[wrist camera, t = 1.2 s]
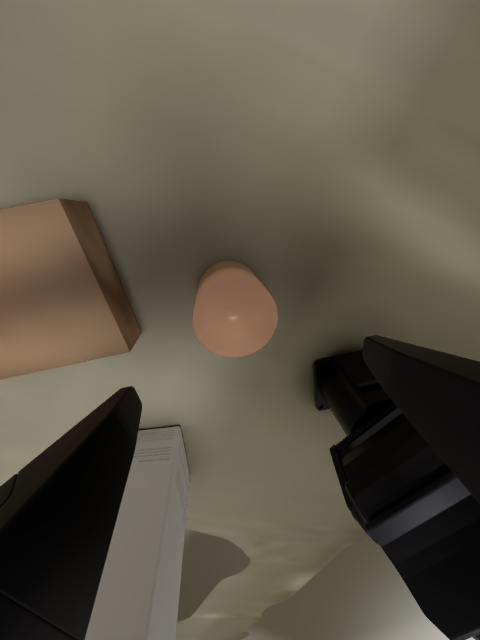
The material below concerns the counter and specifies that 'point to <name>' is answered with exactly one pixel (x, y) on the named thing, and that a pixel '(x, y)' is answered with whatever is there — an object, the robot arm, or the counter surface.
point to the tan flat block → (58, 290)
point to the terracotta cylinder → (233, 311)
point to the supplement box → (146, 545)
